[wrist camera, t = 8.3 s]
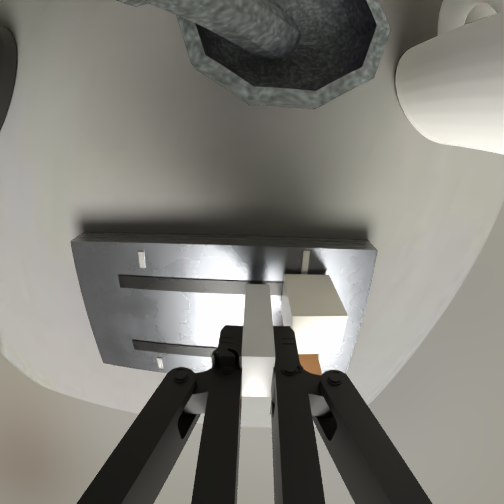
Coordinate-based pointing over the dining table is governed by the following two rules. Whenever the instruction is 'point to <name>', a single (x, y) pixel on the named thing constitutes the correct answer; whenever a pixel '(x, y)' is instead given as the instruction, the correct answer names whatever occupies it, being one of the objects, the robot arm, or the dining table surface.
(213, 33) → the mortar and pestle
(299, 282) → the fader
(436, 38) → the mug
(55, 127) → the dining table surface
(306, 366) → the fader
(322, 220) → the dining table surface
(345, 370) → the console
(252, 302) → the robot arm
